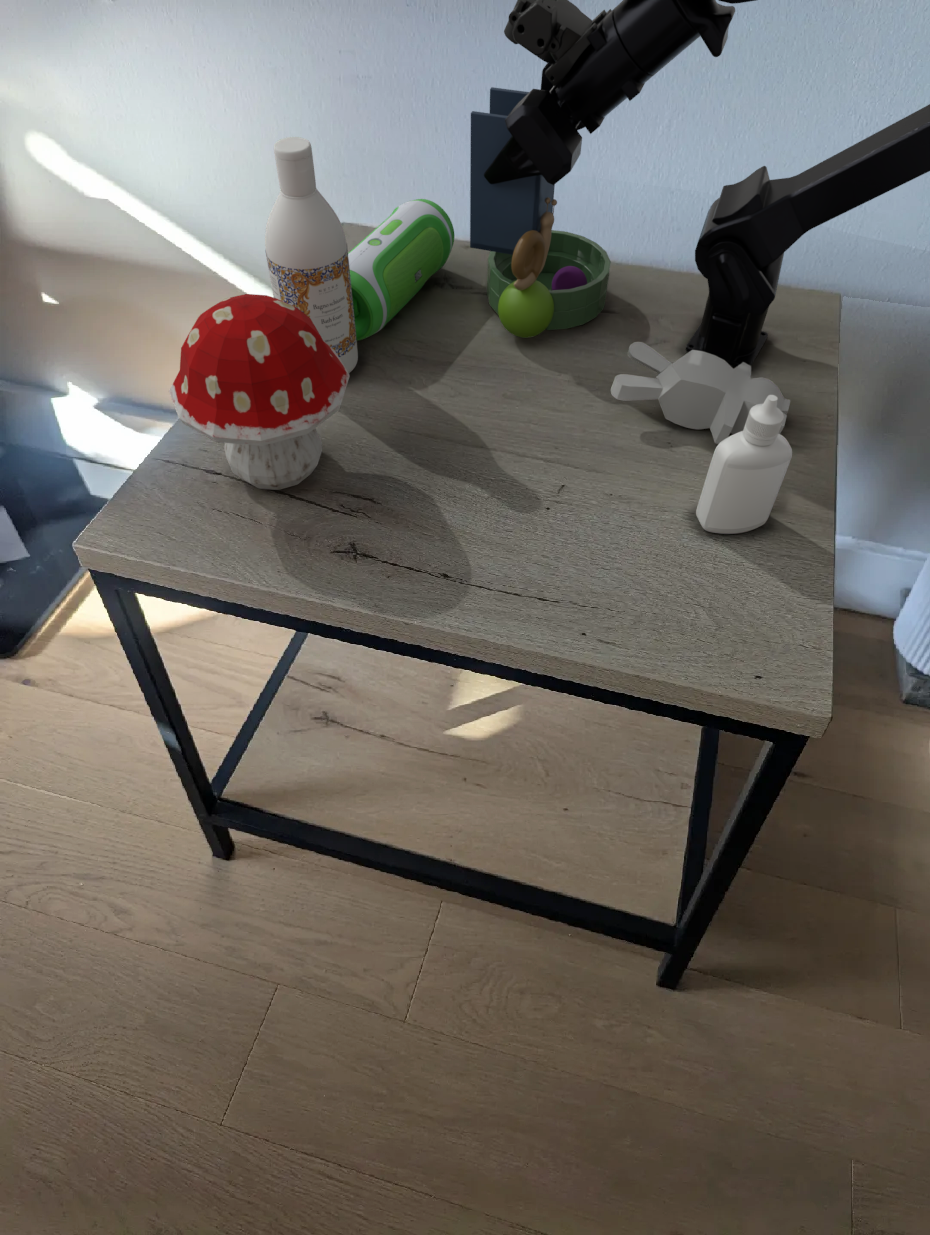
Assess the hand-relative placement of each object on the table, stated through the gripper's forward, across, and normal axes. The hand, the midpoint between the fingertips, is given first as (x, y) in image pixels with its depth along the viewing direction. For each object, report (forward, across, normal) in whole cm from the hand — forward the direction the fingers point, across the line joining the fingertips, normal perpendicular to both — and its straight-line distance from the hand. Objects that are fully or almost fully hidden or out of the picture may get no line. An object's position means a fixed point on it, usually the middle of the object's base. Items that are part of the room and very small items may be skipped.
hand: (497, 164), depth 80 cm
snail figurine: (+4, +5, +11) cm, 13 cm away
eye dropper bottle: (-10, +24, +30) cm, 40 cm away
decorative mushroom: (+17, +31, +3) cm, 35 cm away
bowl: (+6, -2, +13) cm, 15 cm away
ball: (+3, -2, +13) cm, 14 cm away
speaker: (+17, +4, +3) cm, 18 cm away
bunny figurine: (-6, +12, +26) cm, 30 cm away
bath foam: (+18, +16, +1) cm, 24 cm away
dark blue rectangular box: (+4, 0, +6) cm, 7 cm away
